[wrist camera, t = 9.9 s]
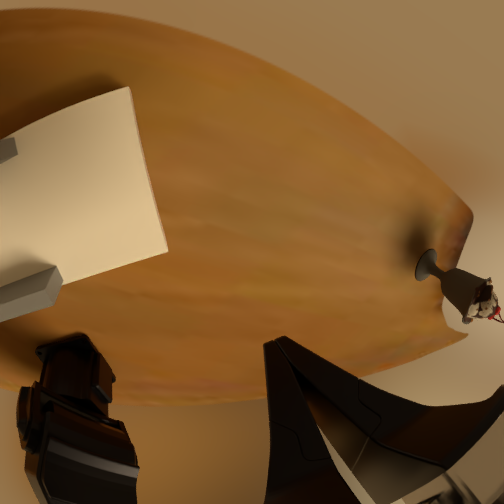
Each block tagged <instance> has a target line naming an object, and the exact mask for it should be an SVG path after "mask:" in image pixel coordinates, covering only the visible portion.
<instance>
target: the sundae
mask: <svg viewBox="0 0 504 504" xmlns="http://www.w3.org/2000/svg"><path fill="white" fill-rule="evenodd" d="M436 260H437V253H436V251H435V250H434V249H431V250H428V251H427V252H426V253H425V254H424V255H423V256H422V257H421V259H420V261H419V263H418V265H417V268H416V273H415V275H416V279H417V280H418V281H422V280H425V279H426V278H427V277H428V276H429V275H430V274H431V275H434V276H436V277H437V278H439V279H440V281H441V289H442V293H443V294H444V296H445V297H446V298H447V299H448V300H449V301H450V302H451V303H452V304H453V305H454V306H455V307H456V308H457V309H458V310H459V311H460V313H461V314H462V315H463V318H462V322H463V323H464V324H469V323H470V322H472V321H473V319H483V318H488V319H489V320H491V319H494V320H496V321H498V322H501V321H499V320H497V319H495V318H494V316H495V315H498V314H499V313H500V310H501V308H500V307H499V306H498V299H497V296H496V294H495V293H494V292H493V285H492V284H491V283H492V281H491V278H490V277H489V278H488V279H482V278H480V277H477V276H475V275H473V274H471V273H468V272H466V271H464V270H461V269H457V268H454V269H451V270H449V271H447V272H444V271H442V270H440V269H439V268H438V267H437V266H436ZM499 317H500V318H501V316H500V314H499ZM501 320H502V319H501ZM502 321H503V320H502ZM501 323H504V321H503V322H501Z"/></svg>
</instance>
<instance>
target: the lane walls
mask: <svg viewBox="0 0 504 504" xmlns="http://www.w3.org/2000/svg"><path fill="white" fill-rule="evenodd" d="M16 155H18V152H17V147H16V143H15V138H14V137H12V138H6V139H1V140H0V164H2V163H3V162H5V161H7V160H9V159H11V158H12V157H14V156H16ZM63 281H64V280H63V278H62V276H61V274H60V272H59V270H58V268H57V266H55V267H52V268H50V269H47V270H44V271H41V272H39V273H36V274H33V275H30V276H28V277H25V278H23V279H20V280H17V281H15V282H12V283H10V284H7V285H4V286H2V287H0V322H2V321H6V320H9V319H12V318H15V317H18V316H21V315H24V314H28V313H31V312H34V311H37V310H40V309H43V308H47V307H50V306H53V305H54V304H55V301H56V298H57V296H58V293H59V291H60V288H61V286H62V283H63Z"/></svg>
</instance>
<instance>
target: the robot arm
mask: <svg viewBox="0 0 504 504" xmlns="http://www.w3.org/2000/svg"><path fill="white" fill-rule="evenodd" d="M83 340H86V341H83ZM263 350H264V362H265V375H266V387H267V400H268V412H269V421H270V422H269V428H270V457H269V468H268V479H267V487H266V495H265V501H264V504H361V503H360V501H359V500H358V499H357V497H356V496H355V495H354V493H353V492H352V491H351V489H350V488H349V486H348V485H347V483H346V482H345V480H344V479H343V477H342V476H341V475H340V473H339V472H338V470H337V468H336V466H335V464H334V462H333V460H332V459H331V456H330V453H329V451H328V449H327V446H326V444H325V442H324V440H323V437H322V435H321V433H320V431H319V428H320V429H321V430H322V432H323V433H324V435H325V436H326V438H327V439H328V440H329V442H330V443H331V445H332V446H333V447H334V449H335V450H336V451H337V453H338V454H339V455H340V457H341V458H342V459H343V461H344V462H345V464H346V465H347V466H348V468H349V469H350V470H351V471H352V473H353V474H354V476H355V477H356V478H357V480H358V481H359V482H360V484H361V485H362V486H363V488H364V489H365V490H366V492H367V493H368V494H369V495H370V497H371V498H372V499H373V501H374V502H375V503H376V504H390V503H393V502H394V501H396V500H398V499H400V498H402V499H403V501H404V502H405V504H504V385H501V386H500V387H499V388H498V389H497V390H496V392H495V393H494V394H493V395H492V396H491V397H490V398H488V399H487V400H484V401H481V402H476V403H468V404H460V405H450V406H426V405H422V404H418V403H416V402H413V401H410V400H407V399H404V398H402V397H399V396H396V395H393V394H391V393H388V392H386V391H383V390H381V389H379V388H377V387H375V386H373V385H371V384H368V383H367V382H365V381H363V380H361V379H359V380H358V378H357V377H356V376H354V375H352V374H350V373H348V372H347V371H345V370H343V369H341V368H340V367H338V366H336V365H334V364H332V363H331V362H329V361H327V360H325V359H324V358H322V357H320V356H319V355H317V354H315V353H313V352H312V351H310V350H308V349H307V348H305V347H303V346H302V345H300V344H298V343H296V342H295V341H293V340H291V339H290V338H288V337H287V336H281V337H279V338H276V339H275V340H271V341H269V342H266V343H264V344H263ZM39 351H40V352H39ZM35 353H36V355H37V356H38V357H39V359H40V360H41V361H42V362H43V368H42V372H41V376H40V381H39V382H37V381H35V382H34V383H33V385H32V387H23V386H22V387H21V389H20V392H19V397H18V401H17V409H16V410H17V411H16V418H17V428H18V432H19V438H20V443H21V448H22V449H23V450H25V451H26V456H25V467H24V468H25V473H26V475H27V477H28V480H29V482H30V484H31V486H32V488H33V491H34V492H35V494H36V497H37V498H38V500H39V502H40V504H137V496H136V482H137V476H138V472H139V469H140V467H139V466H138V461H137V456H136V452H135V448H134V446H133V444H132V443H131V441H130V438H129V436H128V433H127V431H126V428H125V426H124V423H123V422H122V421H119V420H114V419H111V418H109V417H108V403H111V402H112V383H114V382H115V381H116V377H115V375H114V374H113V373H112V369H111V368H110V366H109V365H108V363H107V362H106V360H105V359H104V357H103V356H102V354H101V353H99V352H98V351H97V349H96V348H95V346H94V345H93V343H92V342H91V340H90V339H89V337H88V336H86V335H80V336H77V337H73V338H69V339H66V340H62V341H58V342H54V343H50V344H46V345H42V346H38V347H37V348H36V350H35ZM316 423H317V424H316ZM317 425H318V426H319V428H318V426H317Z"/></svg>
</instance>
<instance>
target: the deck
mask: <svg viewBox="0 0 504 504" xmlns="http://www.w3.org/2000/svg"><path fill="white" fill-rule="evenodd" d="M12 137H14V138H15V143H16V147H17V152H18V155H16V156H14V157H12V158H11V159H9V160H7V161H5V162H3V163H2V164H0V287H2V286H4V285H7V284H10V283H12V282H15V281H17V280H20V279H23V278H25V277H28V276H30V275H33V274H36V273H39V272H41V271H44V270H47V269H50V268H52V267H55V266H57V268H58V270H59V272H60V274H61V276H62V278H63V280H64V281H63V283H62V285H64V284H67V283H70V282H73V281H76V280H80V279H83V278H86V277H89V276H92V275H95V274H98V273H101V272H104V271H107V270H111V269H114V268H117V267H120V266H123V265H126V264H130V263H133V262H136V261H139V260H142V259H146V258H149V257H152V256H156V255H159V254H162V253H165V252H168V247H167V242H166V237H165V233H164V230H163V226H162V223H161V219H160V216H159V212H158V209H157V205H156V201H155V197H154V194H153V190H152V186H151V182H150V178H149V174H148V170H147V166H146V161H145V157H144V153H143V148H142V144H141V139H140V135H139V130H138V125H137V120H136V115H135V110H134V104H133V99H132V93H131V90H130V88H129V86H128V87H125V88H121V89H118V90H115V91H111V92H108V93H105V94H102V95H99V96H96V97H93V98H91V99H88V100H85V101H82V102H80V103H77V104H75V105H72V106H69V107H67V108H65V109H62V110H60V111H57V112H55V113H53V114H51V115H48V116H46V117H44V118H42V119H40V120H38V121H36V122H33V123H31V124H29V125H27V126H25V127H24V128H22V129H20V130H18V131H16V132H14V133H12V134H10V135H9V136H7V137H5V138H3V139H6V138H12Z"/></svg>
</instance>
